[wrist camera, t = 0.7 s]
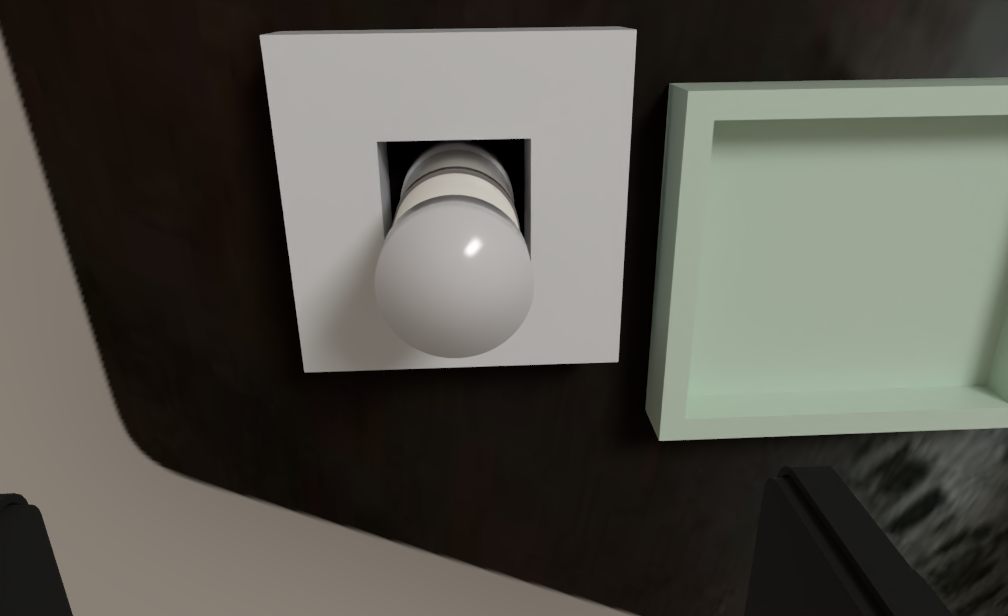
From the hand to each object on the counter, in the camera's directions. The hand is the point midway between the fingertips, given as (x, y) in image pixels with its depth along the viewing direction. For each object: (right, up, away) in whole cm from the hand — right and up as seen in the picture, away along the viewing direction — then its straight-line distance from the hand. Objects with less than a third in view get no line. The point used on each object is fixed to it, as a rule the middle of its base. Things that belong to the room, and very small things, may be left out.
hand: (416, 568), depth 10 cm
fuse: (-1, +8, +19) cm, 20 cm away
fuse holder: (-1, +8, +19) cm, 20 cm away
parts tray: (+15, +6, +21) cm, 26 cm away
